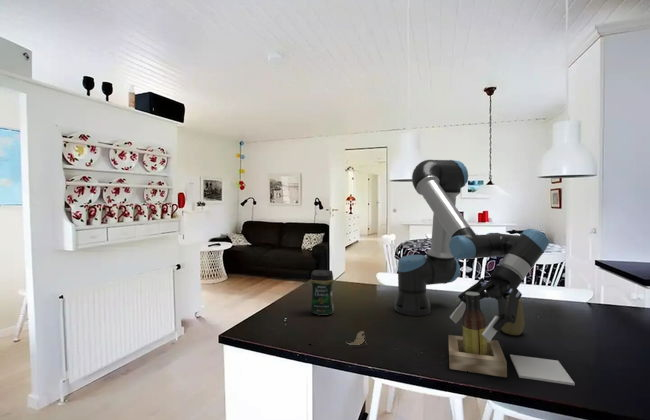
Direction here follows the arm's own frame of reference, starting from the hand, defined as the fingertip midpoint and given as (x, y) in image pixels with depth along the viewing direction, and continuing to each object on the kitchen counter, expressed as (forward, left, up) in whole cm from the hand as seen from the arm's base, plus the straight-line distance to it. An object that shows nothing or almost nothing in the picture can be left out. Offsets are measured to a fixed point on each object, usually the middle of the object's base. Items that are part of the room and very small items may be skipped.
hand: (468, 328), depth 91 cm
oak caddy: (+2, +1, -10) cm, 10 cm away
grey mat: (+18, +1, -10) cm, 20 cm away
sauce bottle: (+2, +1, -10) cm, 10 cm away
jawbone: (-40, +3, -11) cm, 42 cm away
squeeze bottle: (+16, +27, -10) cm, 33 cm away
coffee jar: (-55, +26, -10) cm, 62 cm away
